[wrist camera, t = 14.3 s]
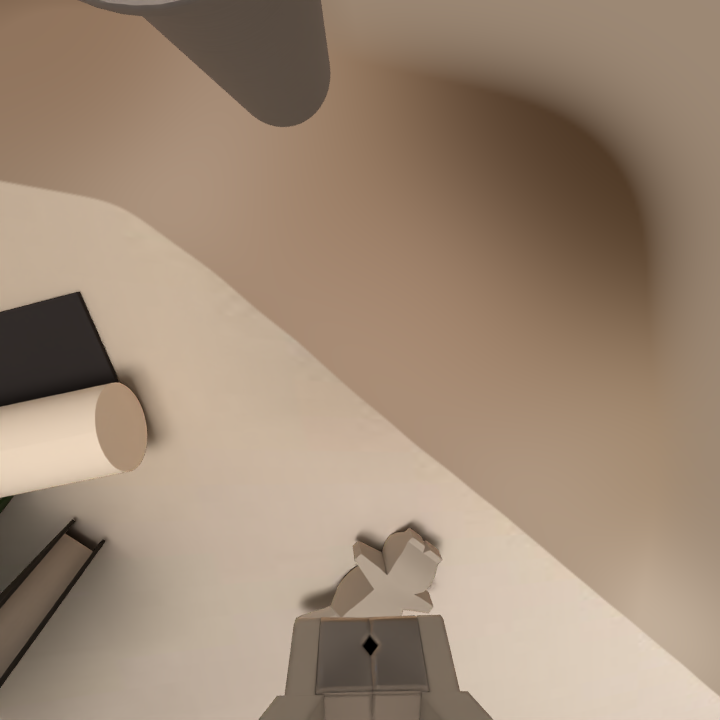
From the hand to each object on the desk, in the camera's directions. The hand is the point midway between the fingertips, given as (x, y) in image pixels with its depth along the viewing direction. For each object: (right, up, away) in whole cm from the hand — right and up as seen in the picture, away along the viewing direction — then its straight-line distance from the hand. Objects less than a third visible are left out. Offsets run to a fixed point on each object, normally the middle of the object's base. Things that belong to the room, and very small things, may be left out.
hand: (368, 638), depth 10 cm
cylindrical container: (-19, +1, +28) cm, 34 cm away
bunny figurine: (+1, -16, +38) cm, 42 cm away
